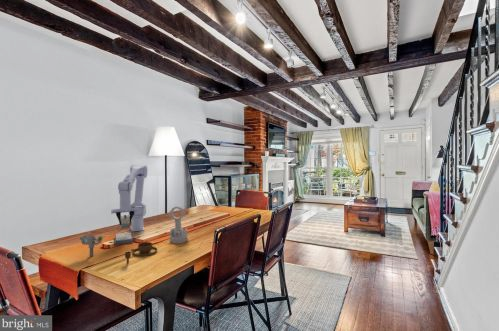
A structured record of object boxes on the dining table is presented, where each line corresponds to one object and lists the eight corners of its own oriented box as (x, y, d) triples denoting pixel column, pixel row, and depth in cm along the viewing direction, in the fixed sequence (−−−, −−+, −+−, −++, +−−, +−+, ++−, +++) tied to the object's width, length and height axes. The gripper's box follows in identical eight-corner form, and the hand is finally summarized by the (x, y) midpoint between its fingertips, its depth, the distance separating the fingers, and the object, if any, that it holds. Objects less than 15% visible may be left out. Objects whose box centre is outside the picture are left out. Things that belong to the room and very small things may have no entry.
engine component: (183, 243, 147) (189, 238, 157) (184, 208, 147) (189, 205, 157) (165, 242, 148) (172, 237, 158) (166, 207, 148) (172, 204, 158)
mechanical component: (99, 257, 124) (99, 237, 124) (79, 257, 125) (79, 237, 124) (103, 255, 127) (103, 235, 127) (83, 254, 128) (83, 235, 127)
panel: (115, 237, 155) (115, 233, 155) (131, 235, 159) (131, 231, 159) (115, 244, 142) (115, 240, 142) (132, 242, 147) (132, 238, 147)
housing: (120, 225, 153) (120, 214, 153) (129, 224, 155) (129, 214, 155) (121, 229, 146) (121, 217, 146) (129, 228, 148) (129, 217, 148)
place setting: (165, 254, 132) (165, 243, 132) (126, 267, 116) (126, 254, 116) (146, 246, 143) (147, 236, 142) (109, 257, 127) (109, 245, 127)
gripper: (111, 203, 143) (111, 227, 144) (139, 202, 150) (139, 224, 151) (111, 201, 150) (111, 224, 150) (138, 200, 156) (137, 221, 157)
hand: (125, 224), depth 151 cm, fingers closed on housing, 4 cm apart
